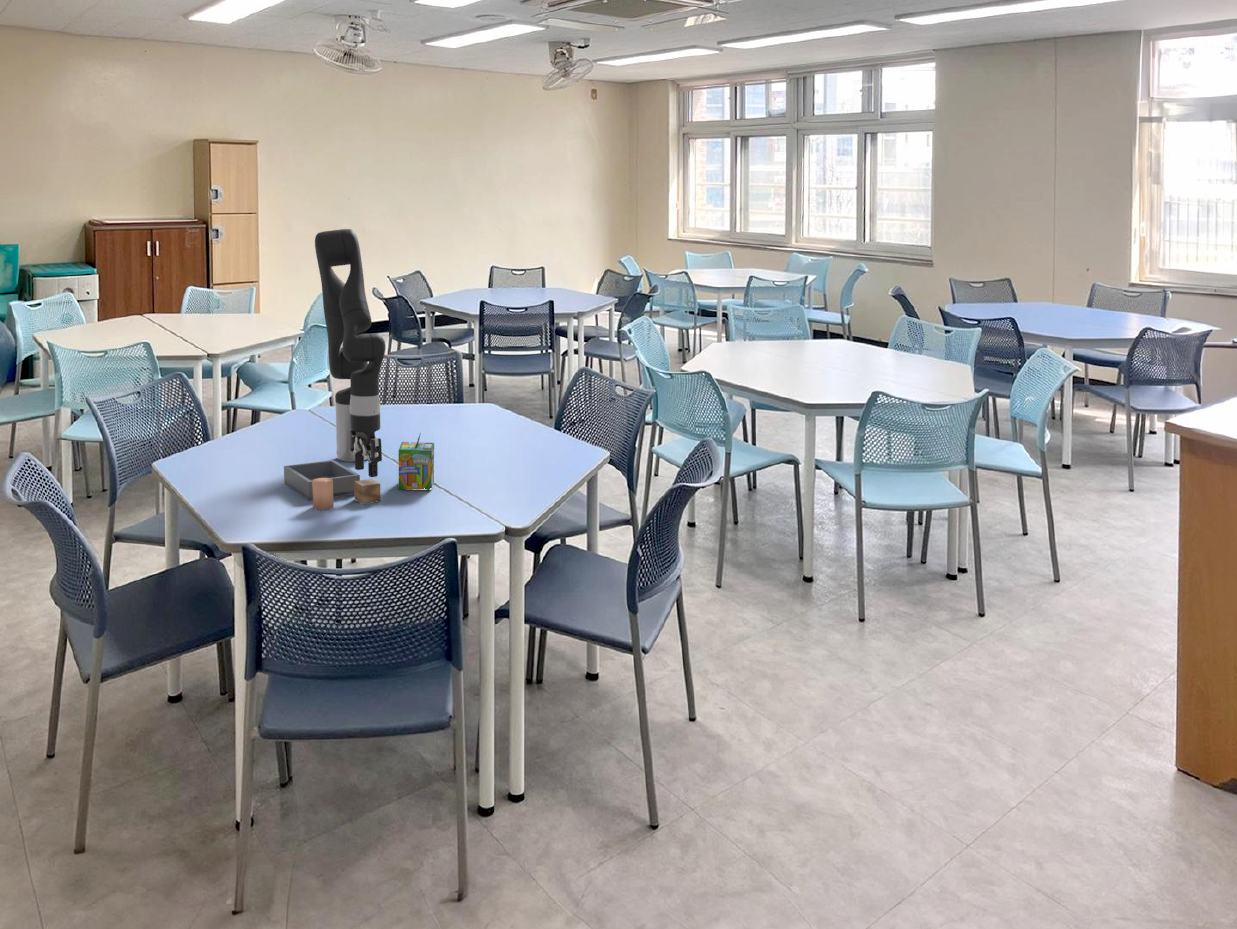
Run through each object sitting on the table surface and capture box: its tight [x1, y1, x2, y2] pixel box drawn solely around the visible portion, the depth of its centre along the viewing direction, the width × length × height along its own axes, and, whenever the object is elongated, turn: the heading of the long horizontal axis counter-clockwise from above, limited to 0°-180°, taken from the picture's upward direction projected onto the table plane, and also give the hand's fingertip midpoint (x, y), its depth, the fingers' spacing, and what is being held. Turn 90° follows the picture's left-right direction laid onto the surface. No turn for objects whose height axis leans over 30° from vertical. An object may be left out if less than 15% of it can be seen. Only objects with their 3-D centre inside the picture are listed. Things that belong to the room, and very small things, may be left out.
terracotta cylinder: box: [312, 478, 335, 511], centre depth 270 cm, size 5×5×7 cm
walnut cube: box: [354, 478, 382, 505], centre depth 278 cm, size 5×5×5 cm
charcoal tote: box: [283, 459, 361, 501], centre depth 286 cm, size 14×18×5 cm
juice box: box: [398, 432, 435, 491], centre depth 291 cm, size 9×9×15 cm
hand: (366, 473), depth 276 cm, fingers open, 8 cm apart
